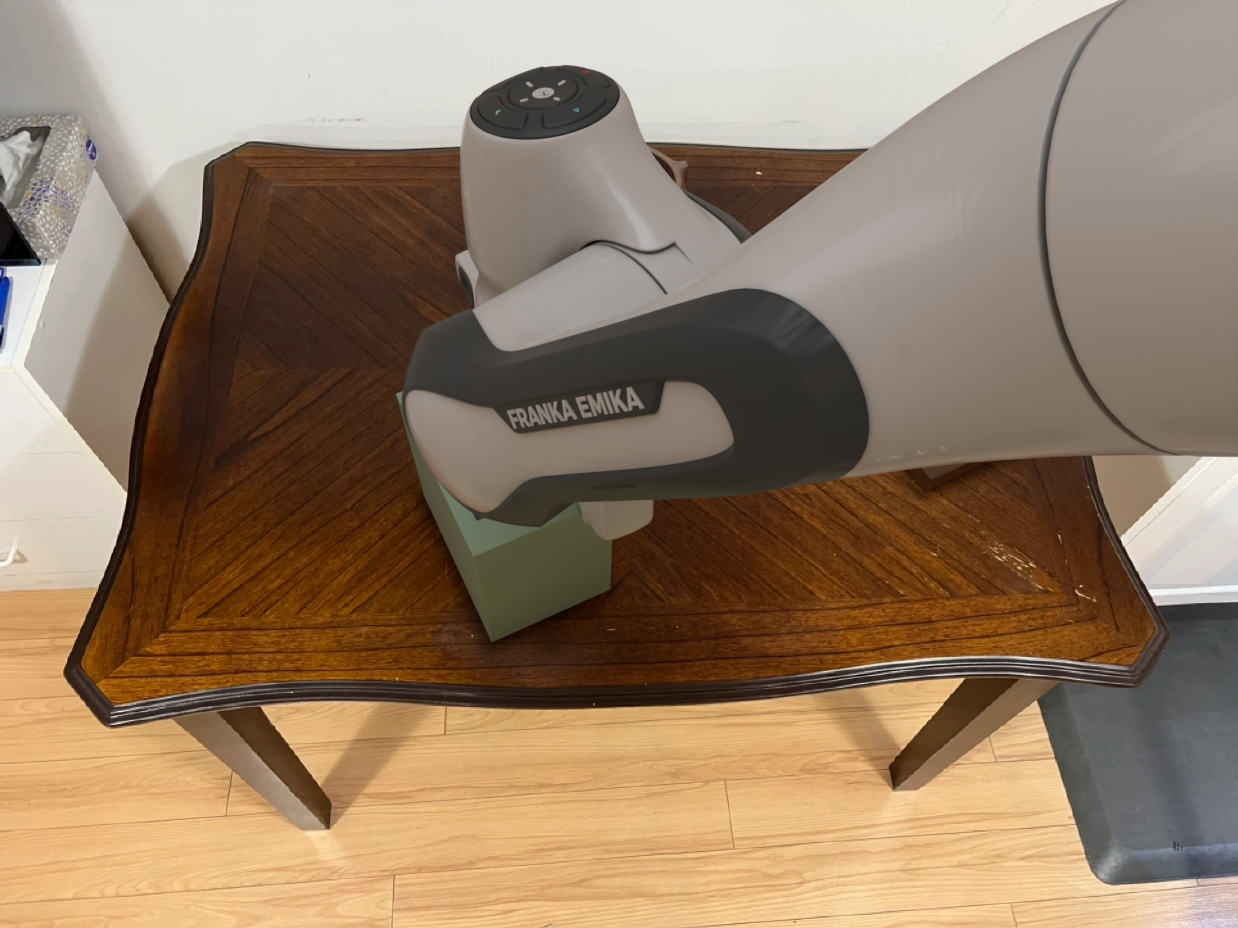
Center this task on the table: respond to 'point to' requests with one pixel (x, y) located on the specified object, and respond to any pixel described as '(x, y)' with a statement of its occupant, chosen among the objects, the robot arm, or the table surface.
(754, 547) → the table surface
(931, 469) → the control block
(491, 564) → the toaster
